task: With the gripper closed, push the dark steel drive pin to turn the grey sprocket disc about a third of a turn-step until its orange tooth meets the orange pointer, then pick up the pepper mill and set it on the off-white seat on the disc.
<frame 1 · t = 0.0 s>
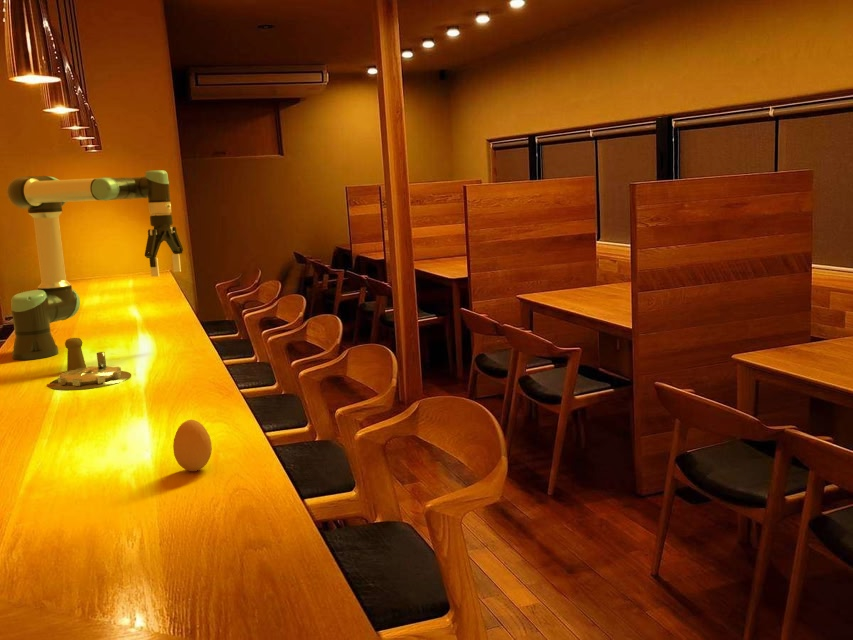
hand: (166, 274, 287), 28 cm above the counter, fingers open, 13 cm apart
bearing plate: (90, 380, 250), on the counter
egg: (194, 471, 165), on the counter
sprocket: (89, 367, 249), point 4 cm above the counter, hinge at 0.0°
pepper mill: (77, 371, 264), on the counter
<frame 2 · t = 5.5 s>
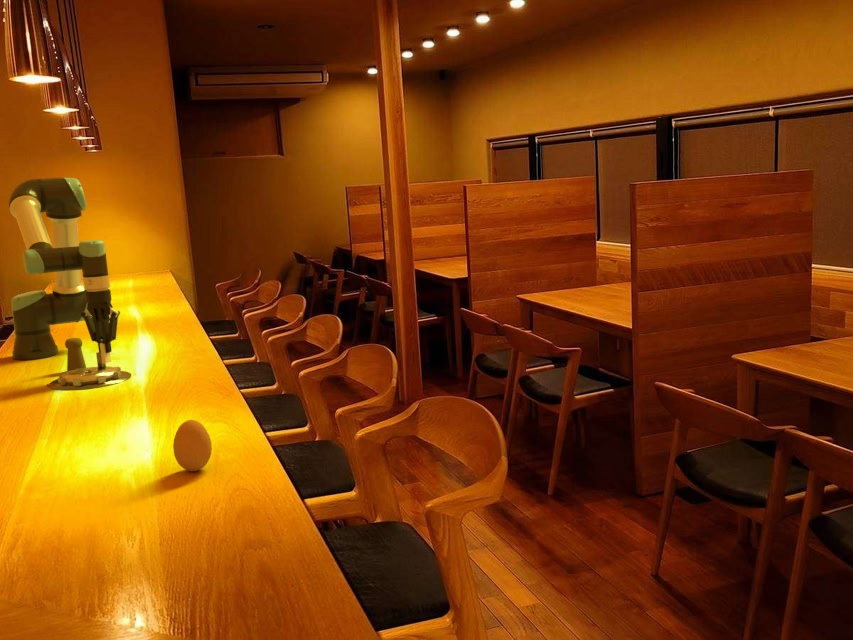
hand: (106, 362, 254), 4 cm above the counter, fingers closed
sprocket: (89, 367, 249), point 4 cm above the counter, hinge at 1.3°, touching gripper
everything else where it was.
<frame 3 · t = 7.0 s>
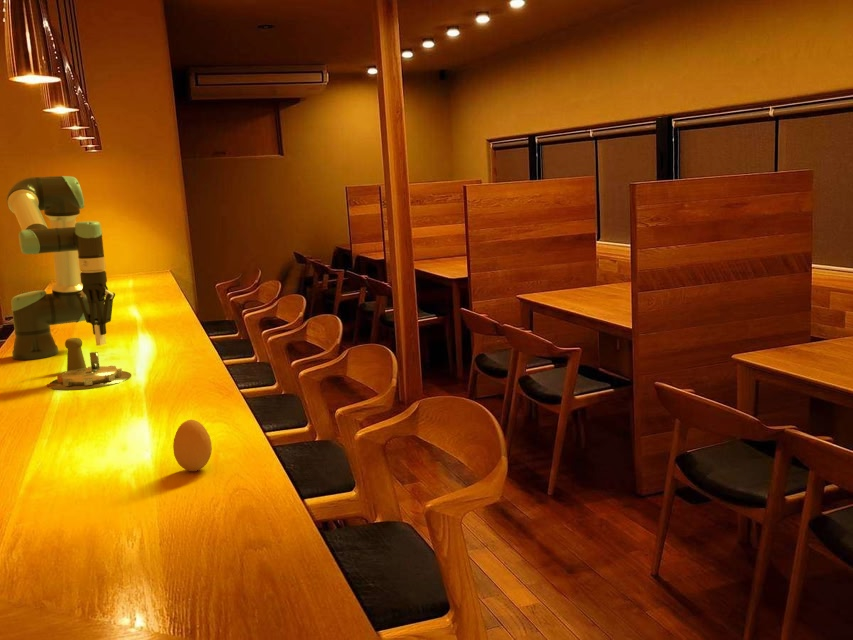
hand: (101, 344, 254), 10 cm above the counter, fingers closed
sprocket: (89, 367, 249), point 4 cm above the counter, hinge at 21.8°
everything else where it was.
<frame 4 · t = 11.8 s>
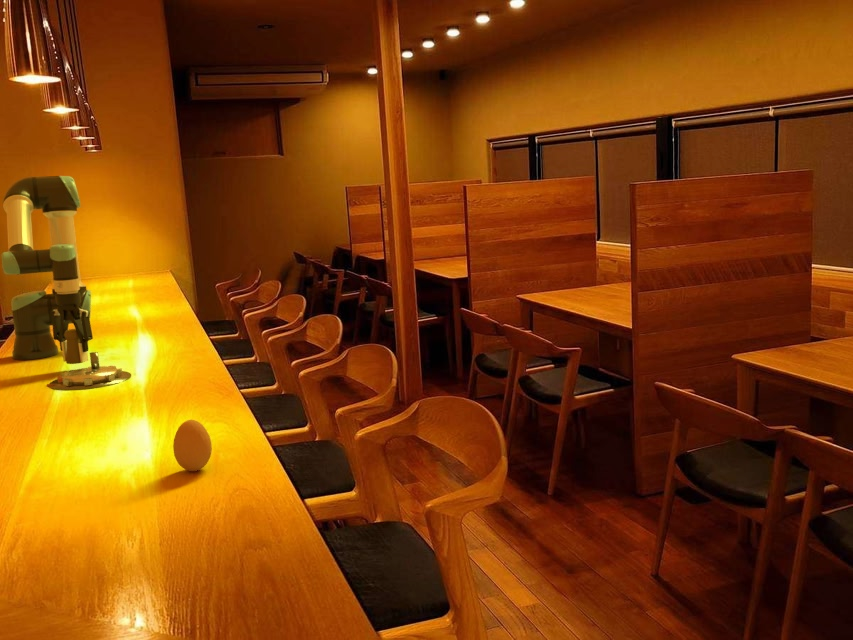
hand: (75, 360, 264), 3 cm above the counter, fingers closed on pepper mill, 6 cm apart
pepper mill: (76, 362, 264), point 3 cm above the counter, touching gripper
everything else where it was.
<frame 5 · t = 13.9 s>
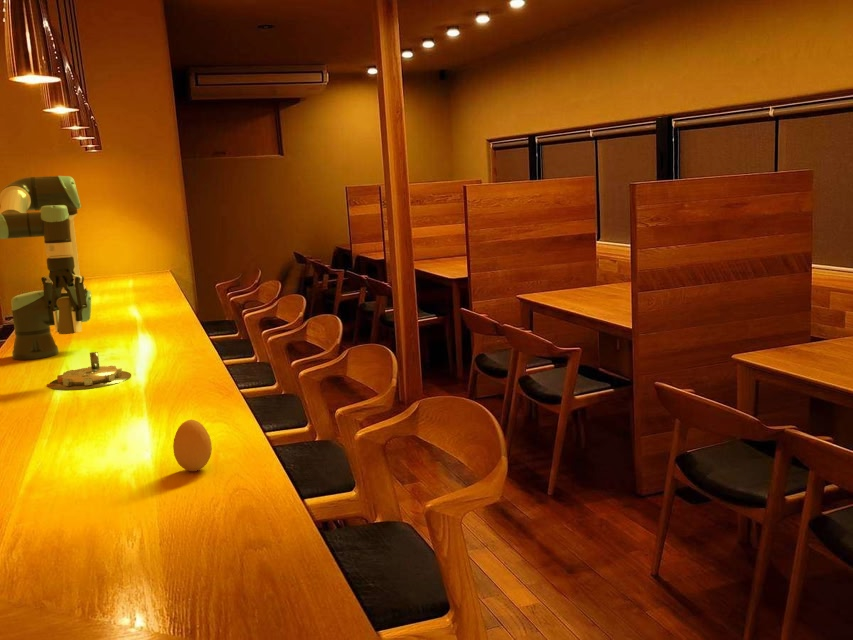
hand: (68, 331, 245), 16 cm above the counter, fingers closed on pepper mill, 6 cm apart
pepper mill: (69, 333, 245), point 16 cm above the counter, touching gripper
everything else where it was.
when the fingers open (4 cm above the counter, at t = 15.9 s): pepper mill stays where it is, resting on sprocket.
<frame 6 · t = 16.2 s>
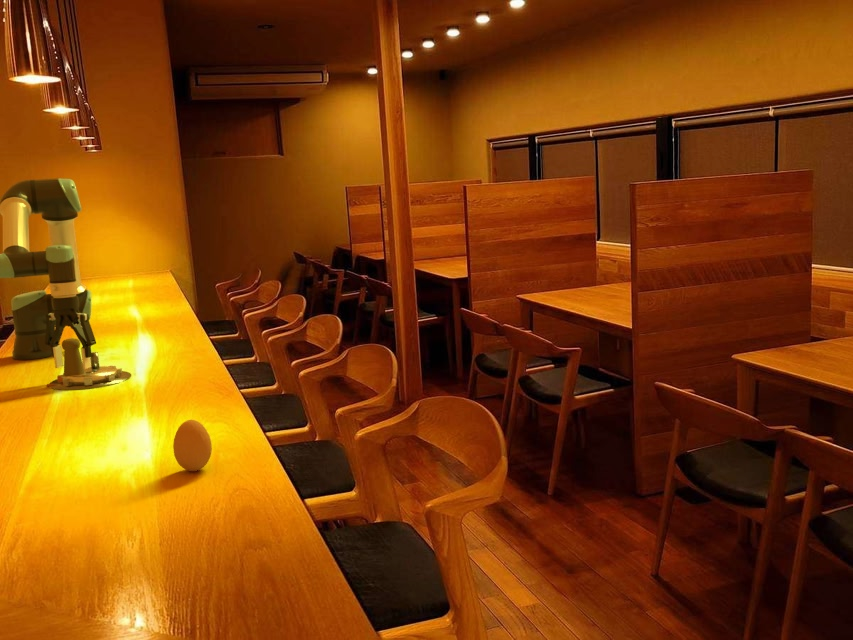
hand: (73, 367, 247), 5 cm above the counter, fingers open, 9 cm apart
sprocket: (89, 367, 249), point 4 cm above the counter, hinge at 21.8°, touching pepper mill
pepper mill: (74, 374, 247), point 3 cm above the counter, touching sprocket
everything else where it was.
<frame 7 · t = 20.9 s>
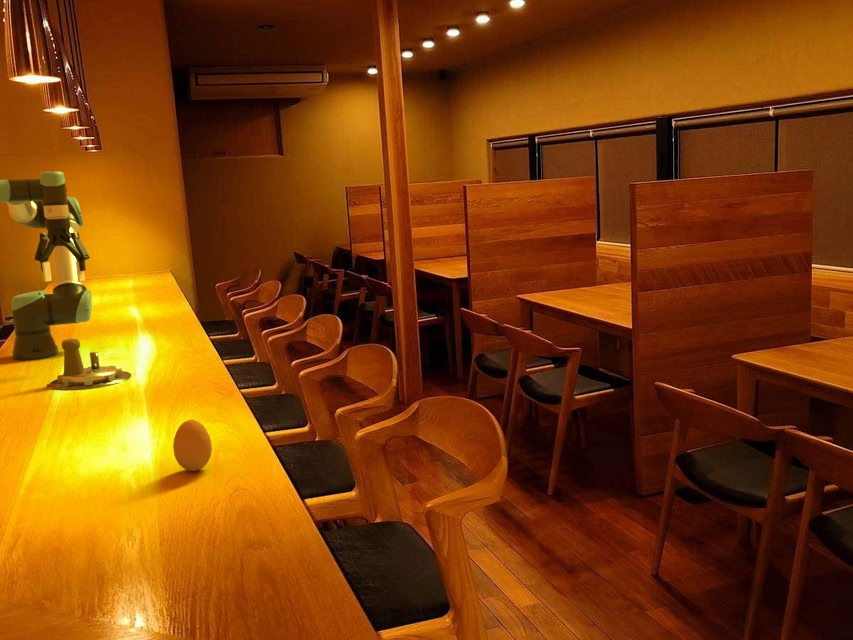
hand: (64, 281, 271), 29 cm above the counter, fingers open, 13 cm apart
nothing on the counter moved.
at the end: sprocket at +22° (first picture: +0°); pepper mill inside the target area (0.3 cm from its centre), point 2.5 cm above the counter; pepper mill tilted 0° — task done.
